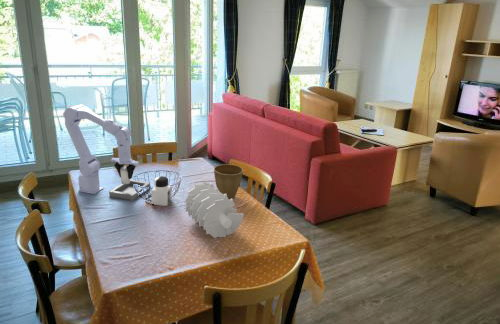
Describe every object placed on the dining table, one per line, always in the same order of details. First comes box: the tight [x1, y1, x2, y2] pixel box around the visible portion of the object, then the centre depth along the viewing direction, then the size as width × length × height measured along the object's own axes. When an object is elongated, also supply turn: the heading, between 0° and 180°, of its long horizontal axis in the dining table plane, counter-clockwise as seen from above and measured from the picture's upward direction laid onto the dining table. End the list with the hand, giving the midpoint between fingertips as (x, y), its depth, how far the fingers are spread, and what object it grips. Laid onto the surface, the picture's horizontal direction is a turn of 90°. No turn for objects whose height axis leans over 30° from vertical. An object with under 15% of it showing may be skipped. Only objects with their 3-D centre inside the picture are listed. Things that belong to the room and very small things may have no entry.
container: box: [150, 175, 172, 207], centre depth 185 cm, size 8×8×13 cm
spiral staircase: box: [184, 181, 245, 239], centre depth 164 cm, size 18×18×25 cm
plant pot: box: [213, 163, 244, 200], centre depth 193 cm, size 15×15×16 cm
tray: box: [108, 179, 151, 202], centre depth 195 cm, size 13×17×3 cm
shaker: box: [120, 165, 132, 184], centre depth 189 cm, size 4×4×8 cm
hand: (126, 177), depth 189 cm, fingers closed on shaker, 4 cm apart
